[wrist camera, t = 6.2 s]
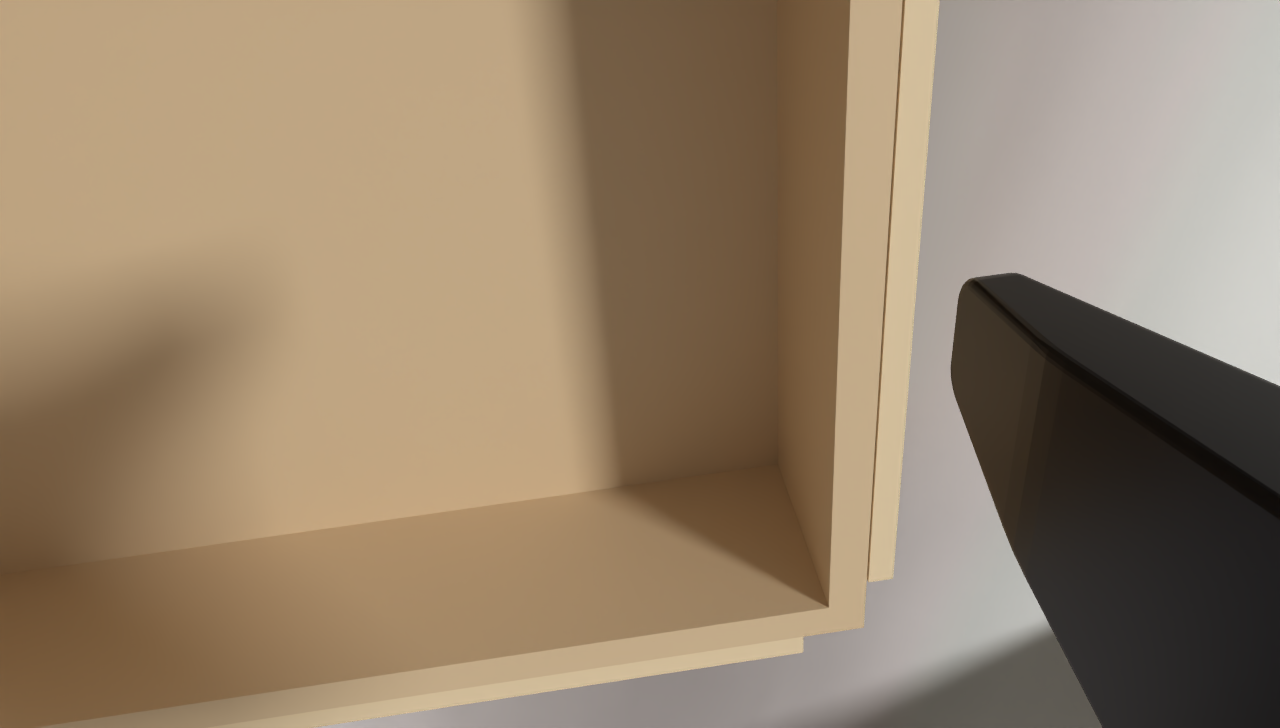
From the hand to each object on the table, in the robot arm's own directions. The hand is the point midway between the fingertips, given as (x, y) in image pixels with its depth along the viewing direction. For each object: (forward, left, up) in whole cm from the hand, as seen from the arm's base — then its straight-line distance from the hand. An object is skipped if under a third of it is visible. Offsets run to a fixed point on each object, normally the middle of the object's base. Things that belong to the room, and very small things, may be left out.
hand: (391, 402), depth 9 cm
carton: (+3, +3, -9) cm, 10 cm away
